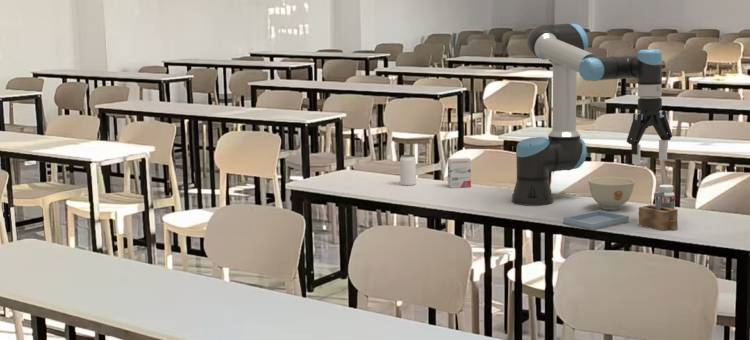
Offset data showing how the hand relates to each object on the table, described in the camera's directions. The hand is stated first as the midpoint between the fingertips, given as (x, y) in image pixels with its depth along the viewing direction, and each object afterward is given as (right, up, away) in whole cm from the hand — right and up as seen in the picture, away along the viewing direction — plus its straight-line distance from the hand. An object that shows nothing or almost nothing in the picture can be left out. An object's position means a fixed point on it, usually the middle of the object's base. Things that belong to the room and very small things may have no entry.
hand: (649, 162), depth 332 cm
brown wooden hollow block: (+2, -21, -1) cm, 21 cm away
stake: (+2, -21, -1) cm, 21 cm away
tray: (-16, -20, +6) cm, 27 cm away
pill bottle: (+10, -18, +17) cm, 26 cm away
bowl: (-6, -16, +28) cm, 33 cm away
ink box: (-56, -10, +75) cm, 95 cm away
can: (-77, -9, +83) cm, 113 cm away
